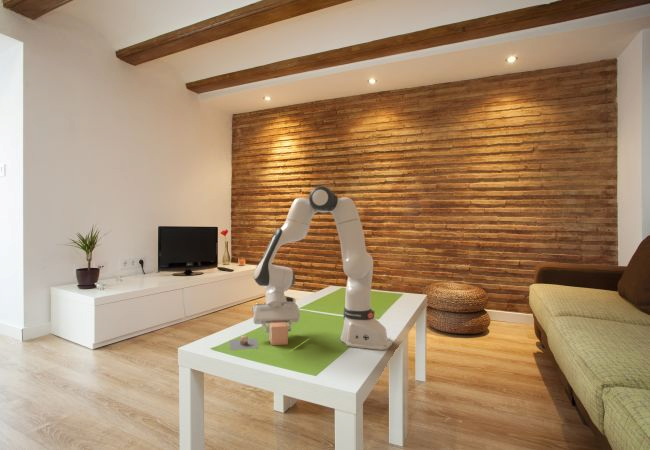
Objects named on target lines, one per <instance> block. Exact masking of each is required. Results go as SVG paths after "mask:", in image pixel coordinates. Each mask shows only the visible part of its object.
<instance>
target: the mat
mask: <svg viewBox="0 0 650 450" xmlns="http://www.w3.org/2000/svg"><path fill="white" fill-rule="evenodd" d="M258 344H259V343H258V340H257V338H248V344H247V345H240V339H232V340H231V339H230V340H229V349H230V351H235V350H237V351H238V350H239V351H240V350H250V349H259V348H260V347H259V345H258Z"/></svg>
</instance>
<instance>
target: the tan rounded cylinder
mask: <svg viewBox="0 0 650 450" xmlns="http://www.w3.org/2000/svg"><path fill="white" fill-rule="evenodd" d="M248 339H249V337H248V335H241V336H240V337H239V340H240V345H247V344H248Z"/></svg>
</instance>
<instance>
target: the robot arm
mask: <svg viewBox="0 0 650 450" xmlns="http://www.w3.org/2000/svg"><path fill="white" fill-rule="evenodd" d="M328 213H330V214H332V217H333V219H334V223H335V227H336V230H337V231H336V232H337V234H338V235H337V236H338V238H339V243H340V251H341V252H340V253H341V259H342V269H343V273H344V274H345V275H346V276H347V280H346V281H347V282H346V287H345V298H344V299H345V300H344V303H345V304H344V308H343V326H342V332H341V336H340V341H341V342H343V343H344V344H345V345H346V346H347V347H352V348H360V349H370V350H380V351H384V350H387V349H389V348H390V347H391V346H392V344H393V340H392V338H391V337H388V334H387V328H386V327H385V326H384V325H383V324H382V323H381V322H380V321H378V320H377V318H375V312H376V310H373V309H372V308H371V292H372V283H373V282H372V281H373V272H374V259H373V256H372V255H371V254H370V252H368V251H367V248H366V239H365V238H366V237H365V234H364V230H363V226H362V222H361V218H360V214H359V211H358V209H357V206H356V204H355V202H354V200H353V199H351V198H350V197H346V196H345V197H344V196H343V197H338V196H337V195H336V193H334V192H333V191H332V190H331V189H330V188H328V187H327V186H324V185H319V186H316V187H314V188H312V190H311V191H310V192H309V195H308V198H307V197H297V198H295V199H294V200H293V202H292V203H291V206H290V208H289V210H288V213H287V216H286V219H285V222H284V224H283V225H282V226H281V227H280V228H278V229H276V230H275V231H274V232H273V234H272V236H271V238H270V240H269V242H268V244H267V247H266V248H265V250H264V252H263V255H262V257H261V259H260V261H259V262H258V264H257V266H256V268H255V269H254V272H253V279H254V280H255V283H256V284H258V286H259V287H260V286H261V287H264V292H265V296H264V300H265V302H263V303H255V304H254V305H252V312H253V319H252V321H253V323H254V324H255V325H261V327H262V328H263V329H264V333H265V334H269V330H270V326H269V327H267V325H268V324H269V325H270V322H283V321H286V323H287V324H288V332H291V331H292V325H293V323H298V322H300V319H301V312H300V308H299V306H298V305H297V304H296V298H295V297H293V296H292V297H291V296H288V295H285V292H286V291H288V290H289V289H290V288H292V287H294V285H295V282H296V275H295V271H294V269H293V268H291V267H286V266H284V265H283V266H282V265H276V264H272V263H273V261H274V259H275V257H276V255H277V252H278V251H279V248H281V246H283V245H286V244H289V243H296V242H299V241H302V240H303V239H305V238H306V237H307V235H308V233H309V230H310V226H311V222H312V220H313V217H314V215H315V214H328ZM266 324H267V325H266Z"/></svg>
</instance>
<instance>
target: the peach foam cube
mask: <svg viewBox="0 0 650 450" xmlns="http://www.w3.org/2000/svg"><path fill="white" fill-rule="evenodd" d="M288 326H289V324H288V323H286V321H283V322H270V324H269V333H268V335H269V336H268V337H269V342H270V346H280V345H288V344H289V331H288Z"/></svg>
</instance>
